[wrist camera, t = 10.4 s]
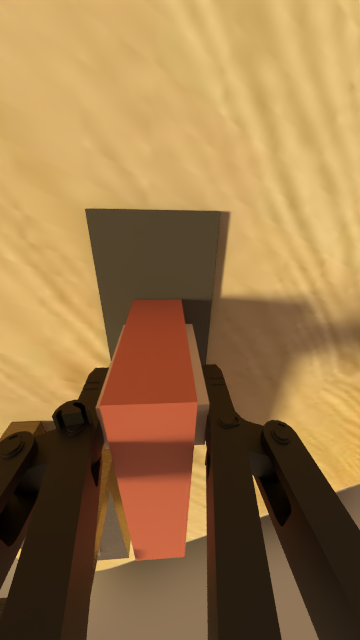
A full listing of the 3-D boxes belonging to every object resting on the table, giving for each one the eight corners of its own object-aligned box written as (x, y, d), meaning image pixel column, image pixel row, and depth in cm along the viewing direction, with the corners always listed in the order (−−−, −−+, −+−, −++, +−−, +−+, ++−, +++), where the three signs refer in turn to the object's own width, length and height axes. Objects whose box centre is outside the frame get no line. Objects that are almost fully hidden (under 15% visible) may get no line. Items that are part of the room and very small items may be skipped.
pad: (88, 208, 12) (85, 209, 11) (218, 211, 12) (220, 211, 11) (121, 410, 19) (120, 416, 19) (199, 407, 20) (200, 413, 19)
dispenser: (11, 422, 19) (-144, 645, 10) (120, 418, 20) (77, 624, 10) (57, 505, 27) (-3, 675, 17) (134, 501, 27) (118, 662, 18)
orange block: (133, 299, 14) (99, 405, 7) (181, 299, 14) (197, 402, 7) (146, 436, 20) (135, 560, 13) (177, 435, 21) (184, 556, 14)
